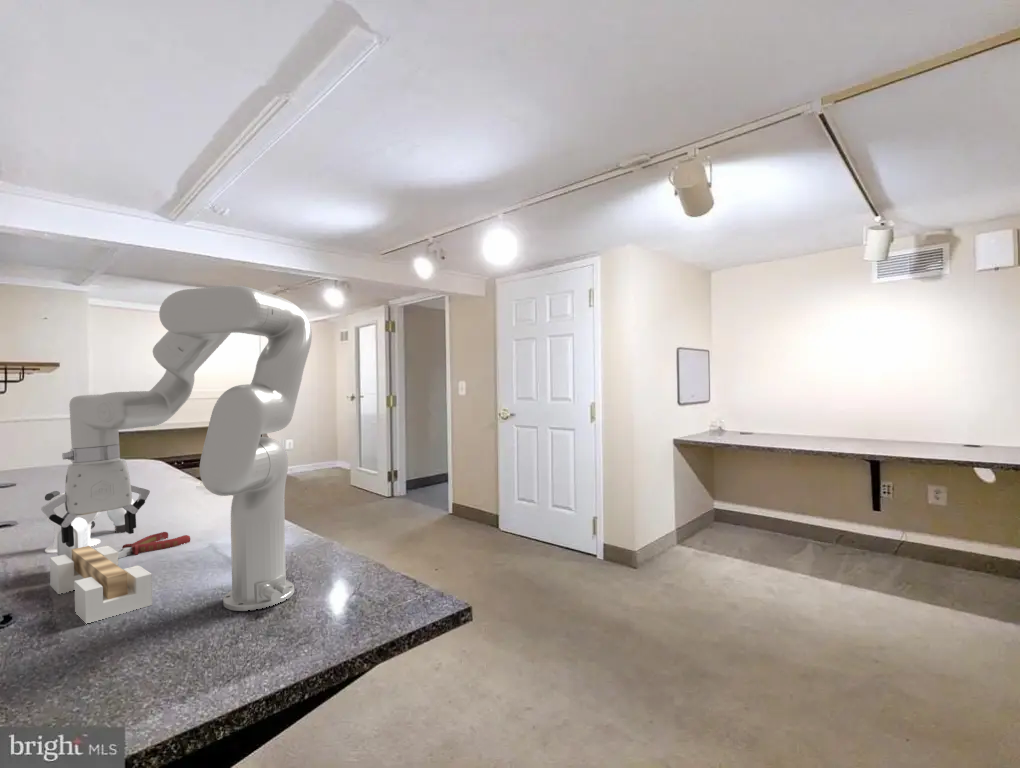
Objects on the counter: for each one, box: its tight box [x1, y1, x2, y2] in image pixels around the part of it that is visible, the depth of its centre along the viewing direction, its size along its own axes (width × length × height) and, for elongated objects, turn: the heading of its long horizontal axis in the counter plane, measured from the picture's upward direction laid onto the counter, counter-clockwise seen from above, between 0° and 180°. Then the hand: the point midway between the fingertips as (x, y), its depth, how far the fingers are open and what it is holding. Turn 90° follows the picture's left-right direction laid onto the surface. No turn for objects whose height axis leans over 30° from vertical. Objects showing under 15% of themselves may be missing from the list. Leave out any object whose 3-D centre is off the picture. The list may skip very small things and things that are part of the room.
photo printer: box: [56, 517, 88, 560], centre depth 116 cm, size 10×4×12 cm, turn 29°
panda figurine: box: [44, 490, 102, 554], centre depth 136 cm, size 12×11×15 cm
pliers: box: [116, 531, 191, 559], centre depth 131 cm, size 12×20×3 cm, turn 157°
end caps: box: [49, 545, 153, 625], centre depth 103 cm, size 30×10×6 cm, turn 51°
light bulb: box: [106, 498, 135, 534], centre depth 150 cm, size 7×7×11 cm
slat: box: [72, 546, 128, 599], centre depth 103 cm, size 28×3×4 cm, turn 51°
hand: (100, 539), depth 103 cm, fingers open, 9 cm apart
